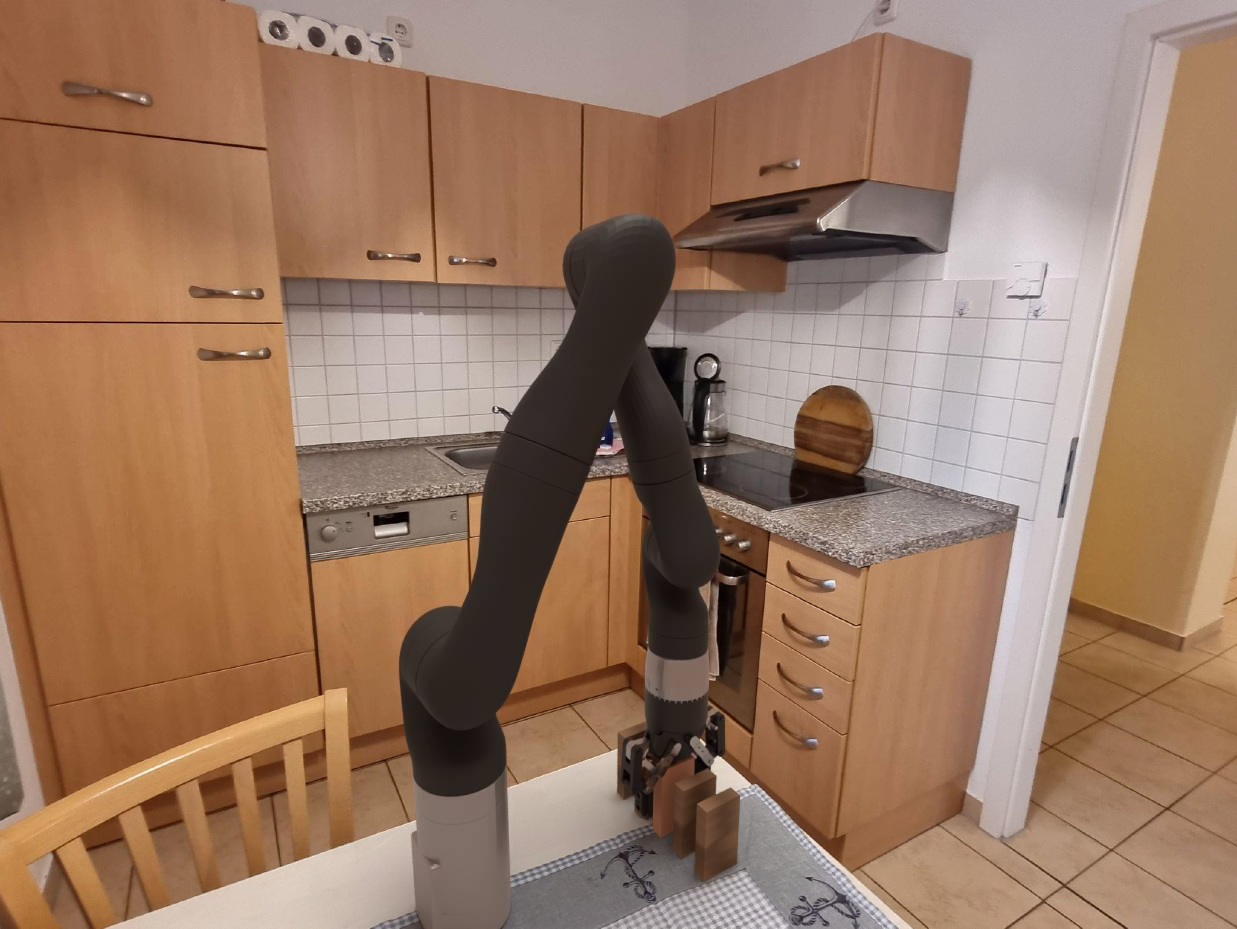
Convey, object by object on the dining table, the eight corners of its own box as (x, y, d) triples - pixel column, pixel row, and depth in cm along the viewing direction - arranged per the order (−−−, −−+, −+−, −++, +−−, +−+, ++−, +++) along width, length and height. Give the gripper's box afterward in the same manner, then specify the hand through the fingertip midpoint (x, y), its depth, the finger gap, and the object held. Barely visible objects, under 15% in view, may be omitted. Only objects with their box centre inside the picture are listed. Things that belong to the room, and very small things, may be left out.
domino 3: (681, 859, 80) (683, 791, 78) (672, 850, 82) (674, 783, 80) (713, 841, 83) (716, 775, 81) (705, 833, 84) (707, 768, 82)
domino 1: (623, 799, 90) (624, 738, 88) (617, 792, 91) (617, 732, 89) (654, 786, 93) (655, 725, 91) (647, 779, 94) (648, 720, 92)
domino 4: (703, 882, 77) (706, 812, 75) (694, 872, 78) (696, 803, 76) (736, 863, 80) (740, 795, 78) (727, 854, 81) (730, 787, 79)
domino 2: (660, 837, 84) (662, 771, 82) (652, 829, 85) (654, 764, 83) (692, 821, 86) (694, 757, 84) (684, 813, 88) (686, 750, 86)
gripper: (646, 715, 74) (644, 844, 78) (743, 678, 82) (737, 797, 86) (608, 684, 81) (608, 805, 84) (702, 653, 88) (698, 765, 92)
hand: (673, 801), depth 85 cm, fingers open, 8 cm apart
